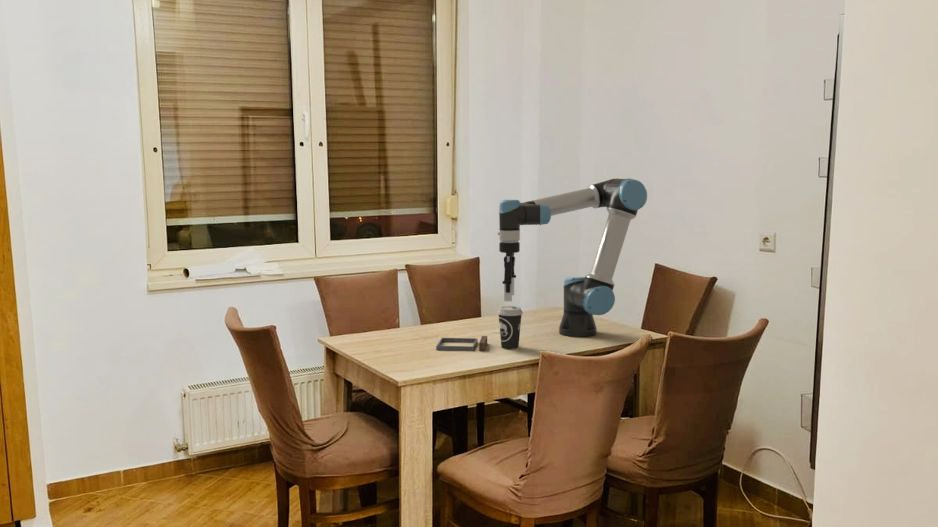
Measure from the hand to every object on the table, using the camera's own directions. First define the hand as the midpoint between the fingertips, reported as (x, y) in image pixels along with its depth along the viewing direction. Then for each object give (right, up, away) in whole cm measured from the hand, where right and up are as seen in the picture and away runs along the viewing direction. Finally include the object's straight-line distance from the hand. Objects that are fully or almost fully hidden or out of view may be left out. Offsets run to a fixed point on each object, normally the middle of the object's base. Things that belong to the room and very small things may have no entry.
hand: (509, 298), depth 291 cm
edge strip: (-10, -19, +2) cm, 21 cm away
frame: (-20, -18, +4) cm, 27 cm away
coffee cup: (0, -19, +2) cm, 19 cm away
